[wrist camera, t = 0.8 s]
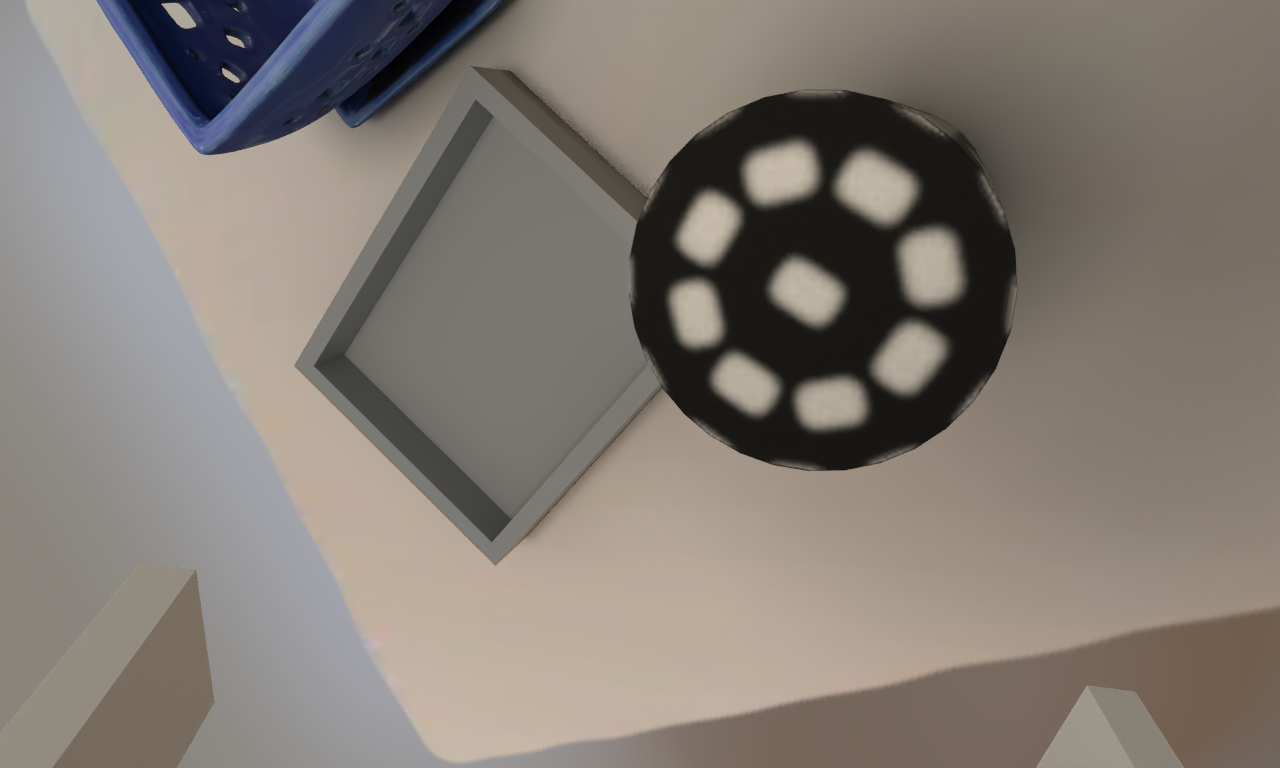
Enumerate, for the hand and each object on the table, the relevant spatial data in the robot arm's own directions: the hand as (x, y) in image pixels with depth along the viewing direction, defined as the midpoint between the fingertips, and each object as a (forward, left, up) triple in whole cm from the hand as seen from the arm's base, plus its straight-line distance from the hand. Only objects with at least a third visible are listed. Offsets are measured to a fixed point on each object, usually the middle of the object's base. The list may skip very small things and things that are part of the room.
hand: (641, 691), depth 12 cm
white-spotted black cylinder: (-4, -2, -28) cm, 29 cm away
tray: (+13, -12, -28) cm, 33 cm away
